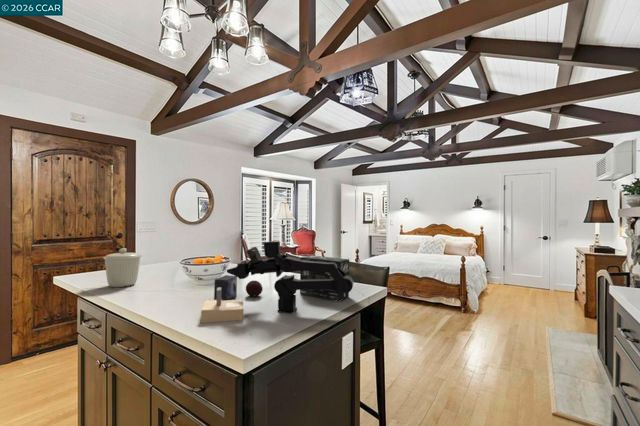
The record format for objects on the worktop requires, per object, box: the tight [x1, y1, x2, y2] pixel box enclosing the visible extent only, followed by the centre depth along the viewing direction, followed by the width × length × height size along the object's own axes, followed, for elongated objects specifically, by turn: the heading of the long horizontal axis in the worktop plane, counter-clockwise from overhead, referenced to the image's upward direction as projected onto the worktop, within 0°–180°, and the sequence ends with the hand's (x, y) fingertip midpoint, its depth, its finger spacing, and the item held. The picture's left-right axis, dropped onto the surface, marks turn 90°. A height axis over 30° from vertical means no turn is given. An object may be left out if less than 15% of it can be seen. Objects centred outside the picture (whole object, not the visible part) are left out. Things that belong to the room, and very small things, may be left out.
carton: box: [200, 299, 244, 324], centre depth 119 cm, size 15×14×4 cm
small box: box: [213, 274, 238, 301], centre depth 142 cm, size 11×6×10 cm, turn 168°
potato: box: [245, 280, 263, 297], centre depth 148 cm, size 8×9×8 cm
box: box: [299, 254, 350, 302], centre depth 149 cm, size 23×10×19 cm, turn 58°
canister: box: [102, 247, 142, 288], centre depth 170 cm, size 18×18×21 cm
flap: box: [200, 287, 222, 313], centre depth 118 cm, size 6×13×6 cm, turn 15°
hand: (232, 269), depth 130 cm, fingers open, 9 cm apart
